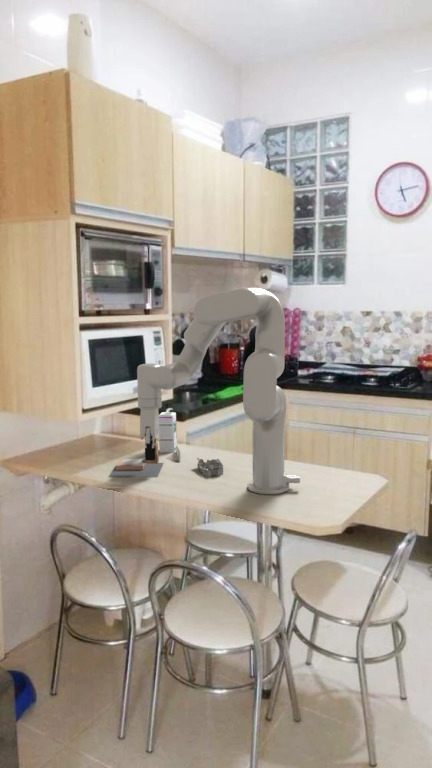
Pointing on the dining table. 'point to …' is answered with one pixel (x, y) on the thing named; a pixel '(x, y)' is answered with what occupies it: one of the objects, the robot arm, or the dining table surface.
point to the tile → (129, 467)
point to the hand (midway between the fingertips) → (151, 457)
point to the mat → (139, 471)
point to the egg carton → (210, 467)
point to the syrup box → (167, 432)
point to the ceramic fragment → (175, 456)
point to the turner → (140, 461)
